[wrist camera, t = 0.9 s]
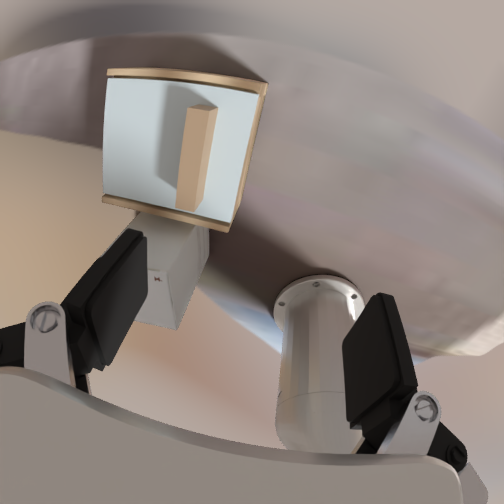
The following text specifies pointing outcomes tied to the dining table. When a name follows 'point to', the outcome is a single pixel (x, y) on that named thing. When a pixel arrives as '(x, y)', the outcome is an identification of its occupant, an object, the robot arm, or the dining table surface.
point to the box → (204, 79)
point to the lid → (176, 144)
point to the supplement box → (170, 266)
